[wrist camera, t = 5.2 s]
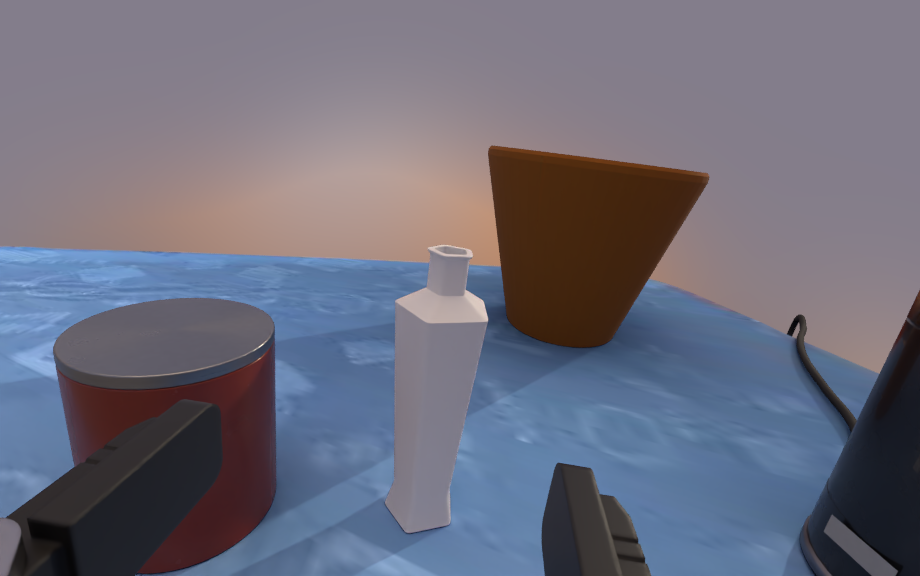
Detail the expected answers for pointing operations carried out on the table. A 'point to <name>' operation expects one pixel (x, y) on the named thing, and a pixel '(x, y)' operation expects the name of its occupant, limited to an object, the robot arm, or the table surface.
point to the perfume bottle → (433, 387)
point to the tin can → (173, 379)
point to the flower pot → (581, 238)
